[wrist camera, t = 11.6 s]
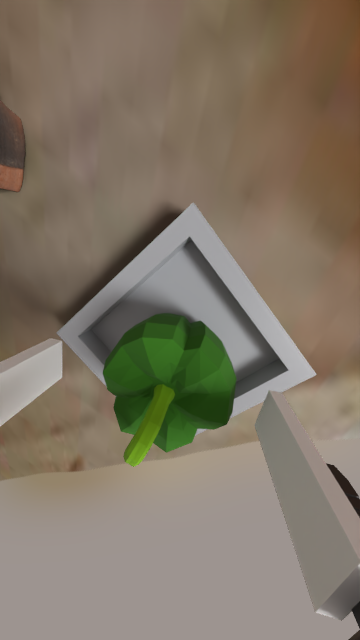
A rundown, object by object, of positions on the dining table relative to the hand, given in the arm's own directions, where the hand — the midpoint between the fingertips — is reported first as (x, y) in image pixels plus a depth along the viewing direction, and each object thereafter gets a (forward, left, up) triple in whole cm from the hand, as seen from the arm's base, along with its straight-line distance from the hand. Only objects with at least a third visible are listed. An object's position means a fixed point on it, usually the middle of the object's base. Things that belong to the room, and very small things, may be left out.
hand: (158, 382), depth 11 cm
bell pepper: (0, 0, -7) cm, 7 cm away
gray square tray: (0, 0, -8) cm, 8 cm away
